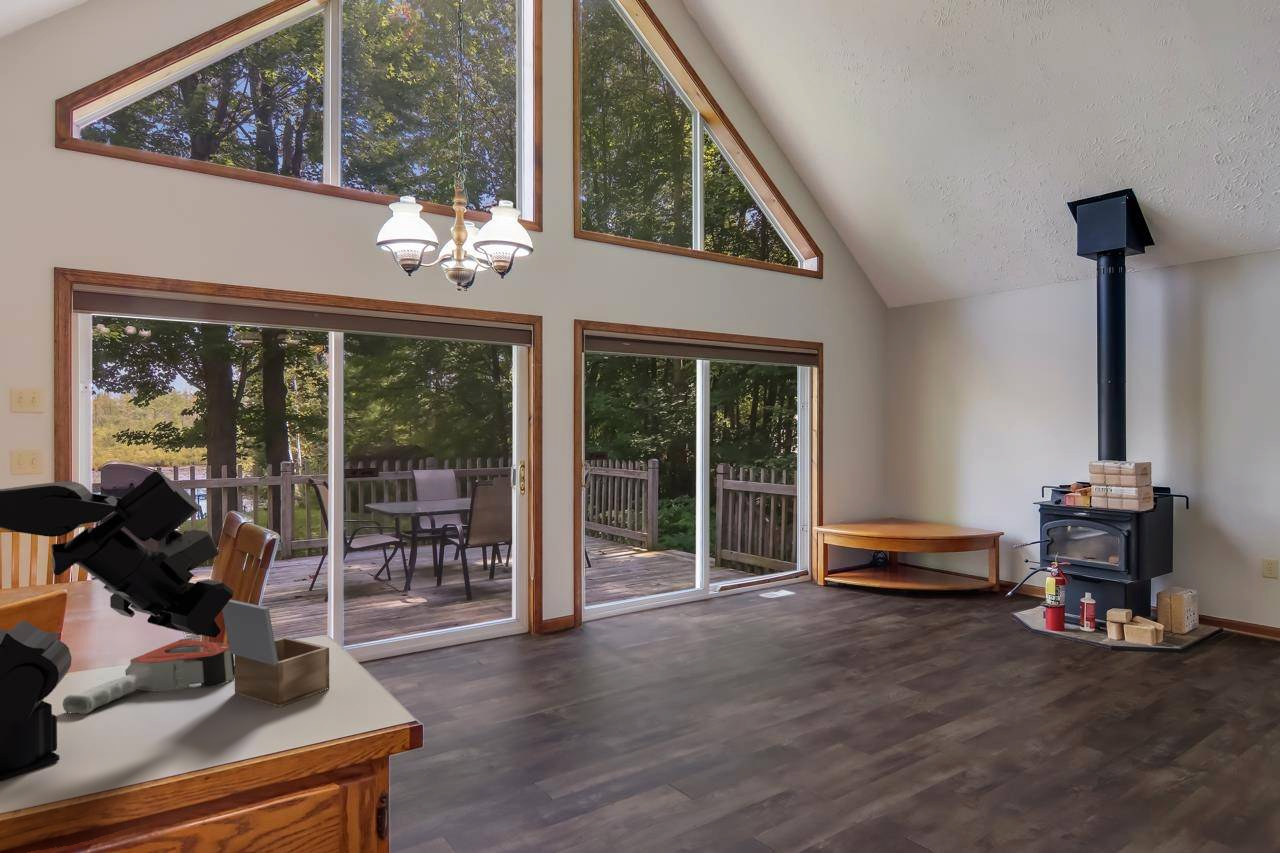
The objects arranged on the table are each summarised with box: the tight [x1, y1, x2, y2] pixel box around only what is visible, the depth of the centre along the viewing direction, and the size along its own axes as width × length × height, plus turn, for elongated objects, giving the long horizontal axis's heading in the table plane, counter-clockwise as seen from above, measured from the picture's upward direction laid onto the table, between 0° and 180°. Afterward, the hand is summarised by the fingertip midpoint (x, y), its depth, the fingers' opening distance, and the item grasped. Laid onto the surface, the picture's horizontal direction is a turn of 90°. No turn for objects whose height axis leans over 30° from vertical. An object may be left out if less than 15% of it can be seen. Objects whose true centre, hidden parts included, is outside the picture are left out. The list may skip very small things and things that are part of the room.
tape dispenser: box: [62, 637, 235, 715], centre depth 112 cm, size 18×5×20 cm
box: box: [234, 637, 330, 708], centre depth 110 cm, size 8×10×6 cm
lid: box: [221, 599, 278, 665], centre depth 106 cm, size 8×10×1 cm
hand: (216, 634), depth 102 cm, fingers closed
